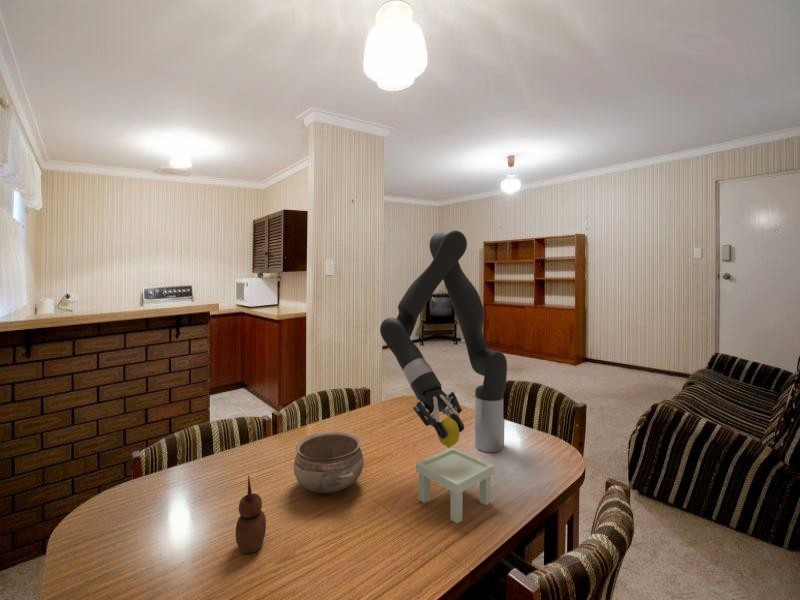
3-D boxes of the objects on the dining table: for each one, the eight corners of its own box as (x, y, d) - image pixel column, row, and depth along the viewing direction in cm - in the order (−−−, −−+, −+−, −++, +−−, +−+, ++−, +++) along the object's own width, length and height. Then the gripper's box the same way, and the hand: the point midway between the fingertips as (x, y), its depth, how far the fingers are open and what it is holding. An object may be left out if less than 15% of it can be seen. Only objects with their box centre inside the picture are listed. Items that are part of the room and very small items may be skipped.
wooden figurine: (242, 537, 88) (240, 472, 87) (269, 536, 88) (267, 471, 87) (232, 559, 81) (230, 489, 80) (261, 557, 82) (259, 487, 81)
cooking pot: (282, 477, 114) (280, 436, 113) (342, 460, 124) (341, 422, 123) (312, 523, 93) (311, 472, 92) (382, 498, 103) (381, 452, 102)
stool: (452, 481, 111) (452, 447, 111) (493, 502, 101) (493, 465, 100) (416, 499, 102) (416, 462, 102) (457, 525, 92) (457, 484, 91)
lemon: (458, 453, 99) (458, 422, 98) (436, 451, 100) (436, 420, 99) (460, 443, 104) (460, 414, 103) (439, 442, 105) (439, 413, 105)
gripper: (408, 375, 102) (441, 434, 93) (446, 366, 111) (480, 419, 103) (395, 391, 106) (426, 448, 98) (433, 381, 115) (464, 433, 107)
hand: (453, 433), depth 100 cm, fingers closed on lemon, 5 cm apart
